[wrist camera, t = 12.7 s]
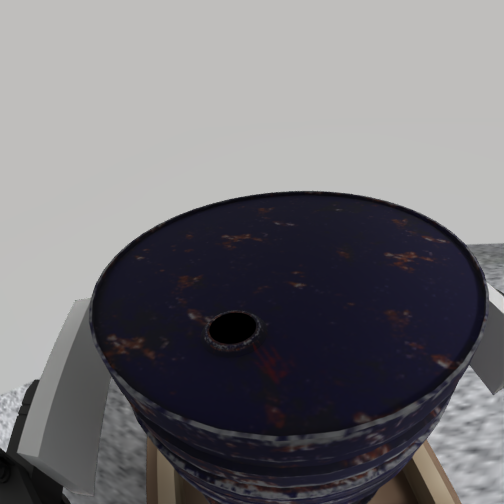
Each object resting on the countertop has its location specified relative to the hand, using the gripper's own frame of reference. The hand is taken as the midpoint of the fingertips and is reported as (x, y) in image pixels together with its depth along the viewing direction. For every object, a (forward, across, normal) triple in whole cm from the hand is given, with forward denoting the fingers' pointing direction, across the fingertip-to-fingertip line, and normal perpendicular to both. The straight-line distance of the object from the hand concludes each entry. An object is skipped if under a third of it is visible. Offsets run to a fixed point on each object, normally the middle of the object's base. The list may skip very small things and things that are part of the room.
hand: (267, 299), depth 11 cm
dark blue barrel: (-3, 0, -12) cm, 12 cm away
